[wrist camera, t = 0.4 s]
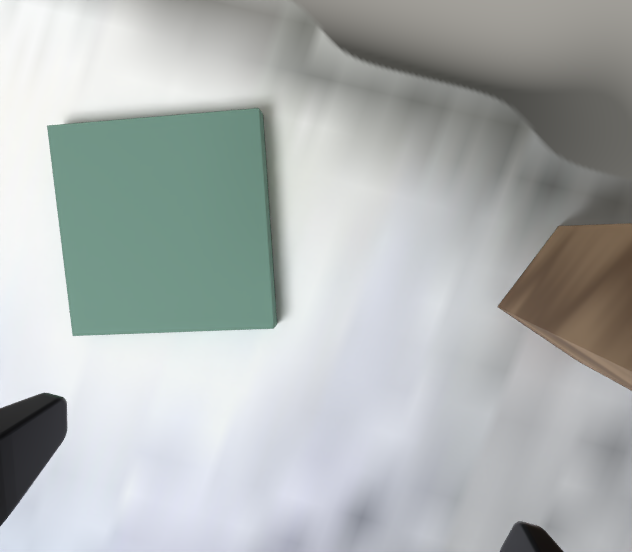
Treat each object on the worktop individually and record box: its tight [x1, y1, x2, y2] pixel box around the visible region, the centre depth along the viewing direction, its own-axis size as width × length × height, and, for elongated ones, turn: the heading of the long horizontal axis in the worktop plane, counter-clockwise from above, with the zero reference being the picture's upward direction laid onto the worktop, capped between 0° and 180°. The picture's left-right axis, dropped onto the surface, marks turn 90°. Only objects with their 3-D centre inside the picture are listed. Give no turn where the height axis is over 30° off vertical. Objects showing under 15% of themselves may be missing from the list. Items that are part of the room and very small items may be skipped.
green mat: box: [47, 108, 277, 336], centre depth 21 cm, size 11×11×1 cm
